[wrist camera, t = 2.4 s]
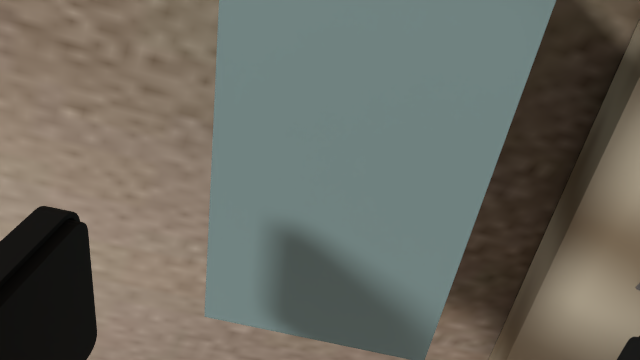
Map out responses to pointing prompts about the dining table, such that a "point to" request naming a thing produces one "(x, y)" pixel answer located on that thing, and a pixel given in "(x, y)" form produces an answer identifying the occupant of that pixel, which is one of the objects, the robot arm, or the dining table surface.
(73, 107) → the dining table surface
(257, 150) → the sanding block
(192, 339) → the dining table surface
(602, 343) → the birch board
